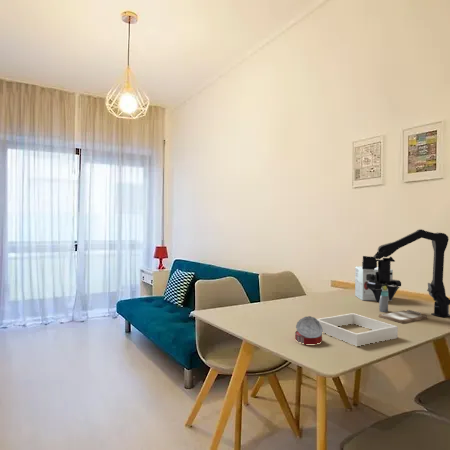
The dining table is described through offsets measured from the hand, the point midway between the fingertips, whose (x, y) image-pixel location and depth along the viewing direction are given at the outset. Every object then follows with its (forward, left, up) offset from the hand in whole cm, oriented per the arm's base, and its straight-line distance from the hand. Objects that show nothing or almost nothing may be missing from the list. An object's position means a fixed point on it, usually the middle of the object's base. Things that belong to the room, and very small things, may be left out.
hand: (383, 301), depth 176 cm
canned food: (+63, +17, -6) cm, 66 cm away
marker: (0, 0, -5) cm, 5 cm away
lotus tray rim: (+41, +19, -5) cm, 46 cm away
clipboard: (+2, +12, -5) cm, 13 cm away
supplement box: (-20, -23, -5) cm, 31 cm away
